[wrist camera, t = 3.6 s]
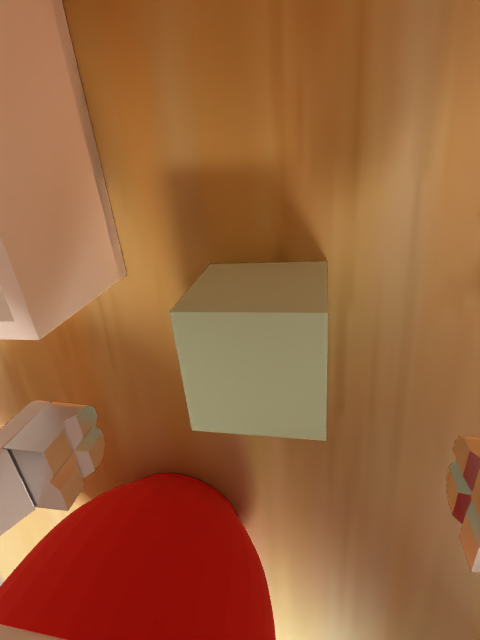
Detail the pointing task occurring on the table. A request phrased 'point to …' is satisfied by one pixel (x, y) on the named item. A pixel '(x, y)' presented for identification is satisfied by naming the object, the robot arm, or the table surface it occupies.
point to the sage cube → (256, 349)
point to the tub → (48, 178)
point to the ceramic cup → (144, 570)
